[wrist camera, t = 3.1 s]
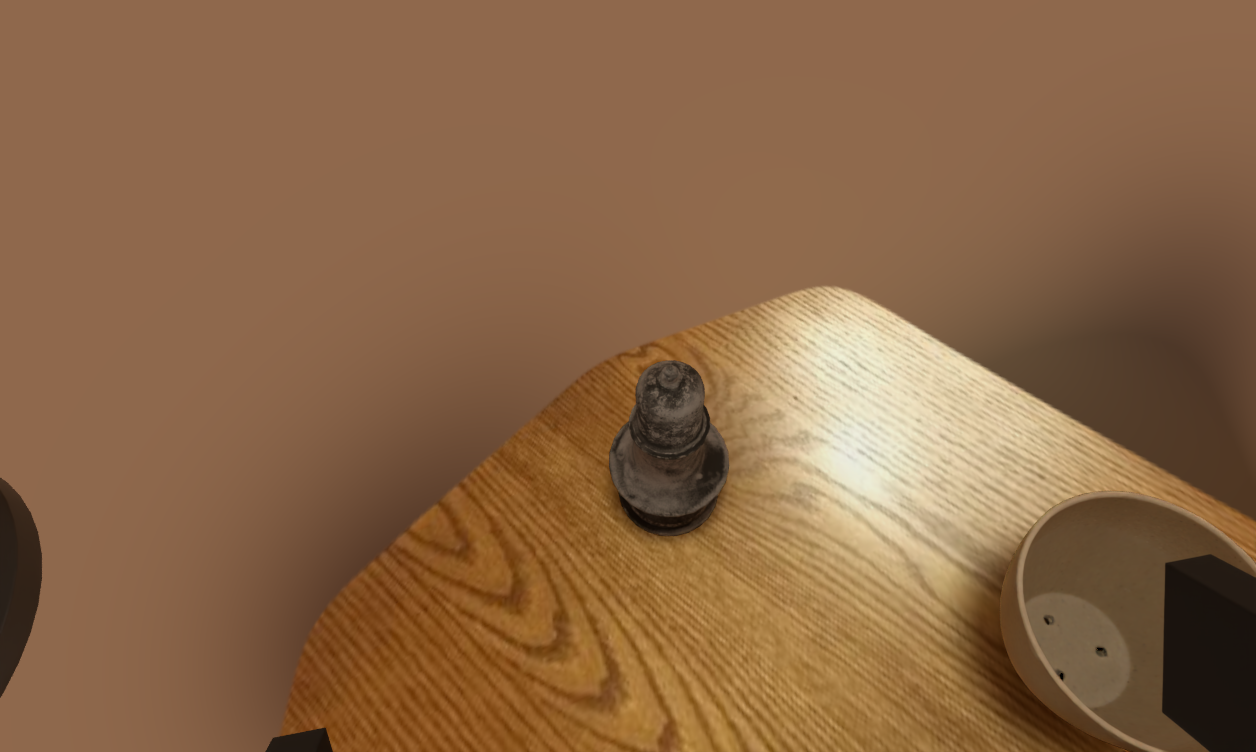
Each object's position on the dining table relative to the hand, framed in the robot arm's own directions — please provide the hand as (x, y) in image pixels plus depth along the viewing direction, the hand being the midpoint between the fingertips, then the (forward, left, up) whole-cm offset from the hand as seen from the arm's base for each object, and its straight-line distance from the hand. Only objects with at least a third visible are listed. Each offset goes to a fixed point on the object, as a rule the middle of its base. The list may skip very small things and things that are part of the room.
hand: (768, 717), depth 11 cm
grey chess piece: (-7, +12, -24) cm, 28 cm away
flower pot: (+13, +12, -24) cm, 30 cm away
